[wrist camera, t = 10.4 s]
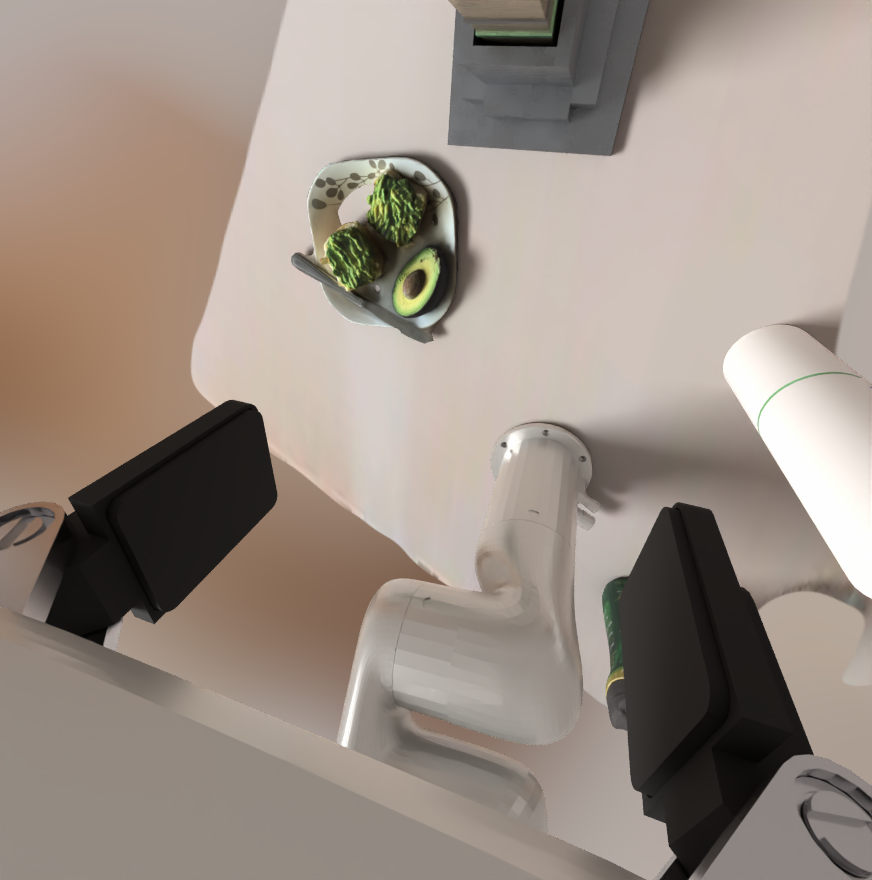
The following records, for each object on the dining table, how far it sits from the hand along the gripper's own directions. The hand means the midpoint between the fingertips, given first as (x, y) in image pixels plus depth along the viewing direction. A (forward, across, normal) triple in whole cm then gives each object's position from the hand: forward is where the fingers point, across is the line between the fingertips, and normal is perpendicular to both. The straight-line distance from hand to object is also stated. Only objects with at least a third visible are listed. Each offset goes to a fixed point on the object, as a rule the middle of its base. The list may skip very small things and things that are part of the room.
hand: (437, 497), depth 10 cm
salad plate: (+38, +17, +2) cm, 42 cm away
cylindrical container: (+38, -22, +7) cm, 45 cm away
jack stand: (+37, +4, -15) cm, 40 cm away
